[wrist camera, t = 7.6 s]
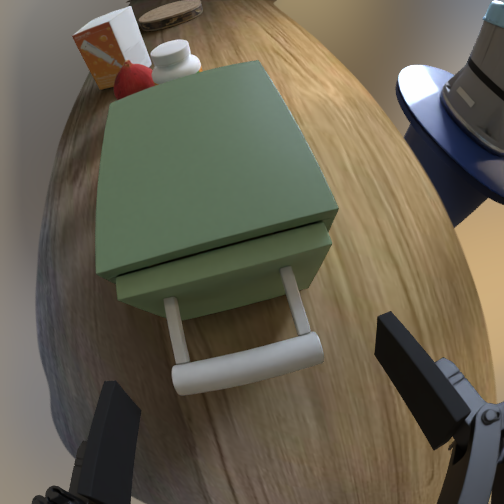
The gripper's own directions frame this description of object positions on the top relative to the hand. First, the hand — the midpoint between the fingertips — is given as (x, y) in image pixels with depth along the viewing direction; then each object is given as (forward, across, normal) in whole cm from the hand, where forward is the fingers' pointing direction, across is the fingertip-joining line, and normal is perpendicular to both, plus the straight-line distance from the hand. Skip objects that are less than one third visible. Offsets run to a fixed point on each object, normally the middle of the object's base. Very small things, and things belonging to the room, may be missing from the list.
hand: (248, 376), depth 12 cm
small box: (+38, -11, +27) cm, 48 cm away
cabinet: (+15, 0, +3) cm, 15 cm away
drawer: (+11, 0, +1) cm, 11 cm away
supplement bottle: (+26, -1, +14) cm, 30 cm away
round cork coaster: (+58, -2, +47) cm, 75 cm away
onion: (+30, -7, +18) cm, 35 cm away
